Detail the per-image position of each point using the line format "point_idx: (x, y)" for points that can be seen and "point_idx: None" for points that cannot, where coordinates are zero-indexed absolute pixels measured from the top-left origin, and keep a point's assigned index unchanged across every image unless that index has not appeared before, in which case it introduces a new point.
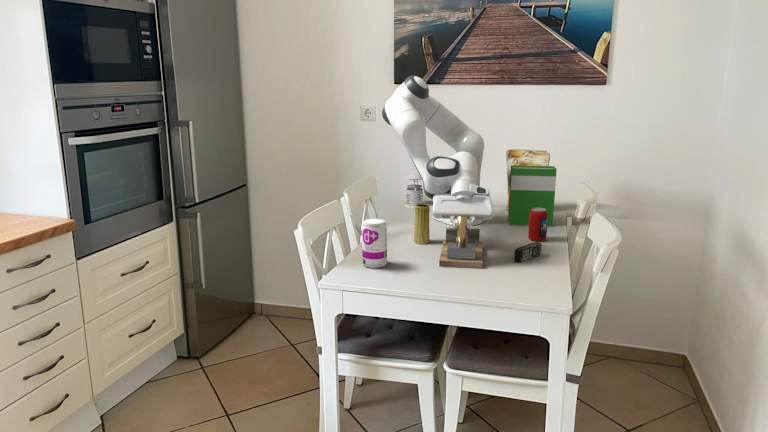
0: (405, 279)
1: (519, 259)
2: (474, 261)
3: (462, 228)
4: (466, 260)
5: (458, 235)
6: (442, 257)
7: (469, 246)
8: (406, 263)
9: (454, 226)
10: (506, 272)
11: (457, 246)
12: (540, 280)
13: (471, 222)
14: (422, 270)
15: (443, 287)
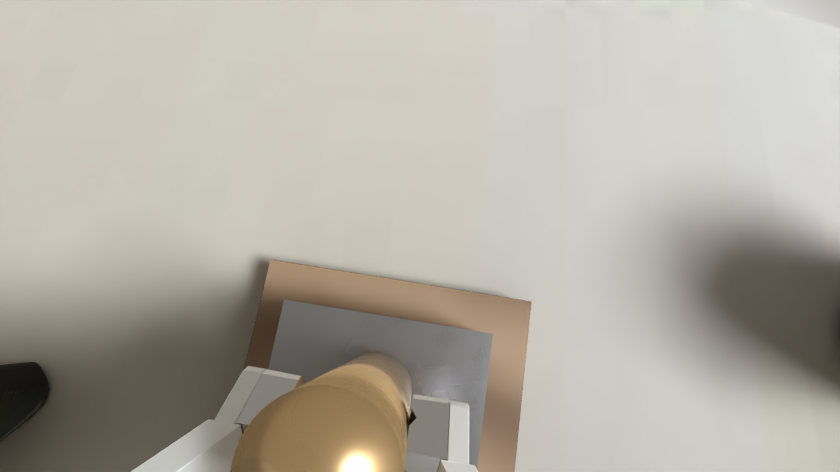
0: (693, 112)
1: (11, 365)
2: (313, 282)
3: (354, 366)
4: (360, 302)
5: (402, 378)
6: (508, 367)
7: (315, 361)
8: (716, 362)
9: (451, 406)
10: (167, 202)
11: (411, 361)
12: (42, 92)
13: (201, 429)
14: (615, 238)
15: (513, 18)
